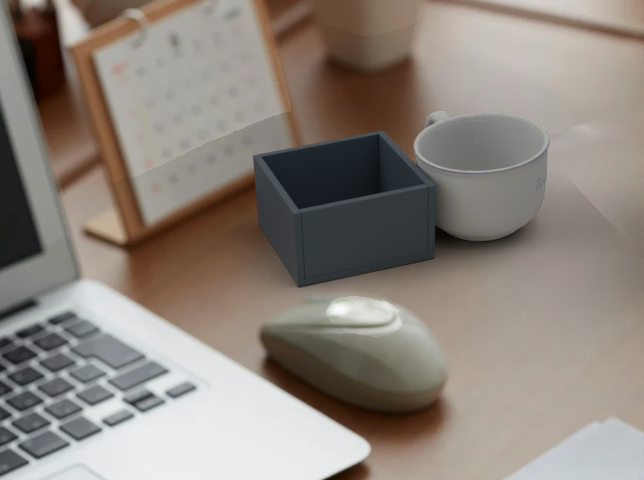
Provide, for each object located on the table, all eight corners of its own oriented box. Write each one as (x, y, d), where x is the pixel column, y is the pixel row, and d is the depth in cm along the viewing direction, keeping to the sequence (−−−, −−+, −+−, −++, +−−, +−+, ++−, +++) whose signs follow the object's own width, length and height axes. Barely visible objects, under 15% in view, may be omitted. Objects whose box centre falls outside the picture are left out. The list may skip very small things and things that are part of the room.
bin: (383, 198, 107) (382, 129, 103) (434, 258, 98) (435, 185, 94) (258, 224, 105) (252, 154, 102) (298, 287, 96) (293, 213, 92)
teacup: (563, 244, 98) (571, 153, 93) (435, 264, 97) (436, 174, 92) (503, 173, 109) (508, 89, 105) (388, 191, 108) (387, 107, 104)
